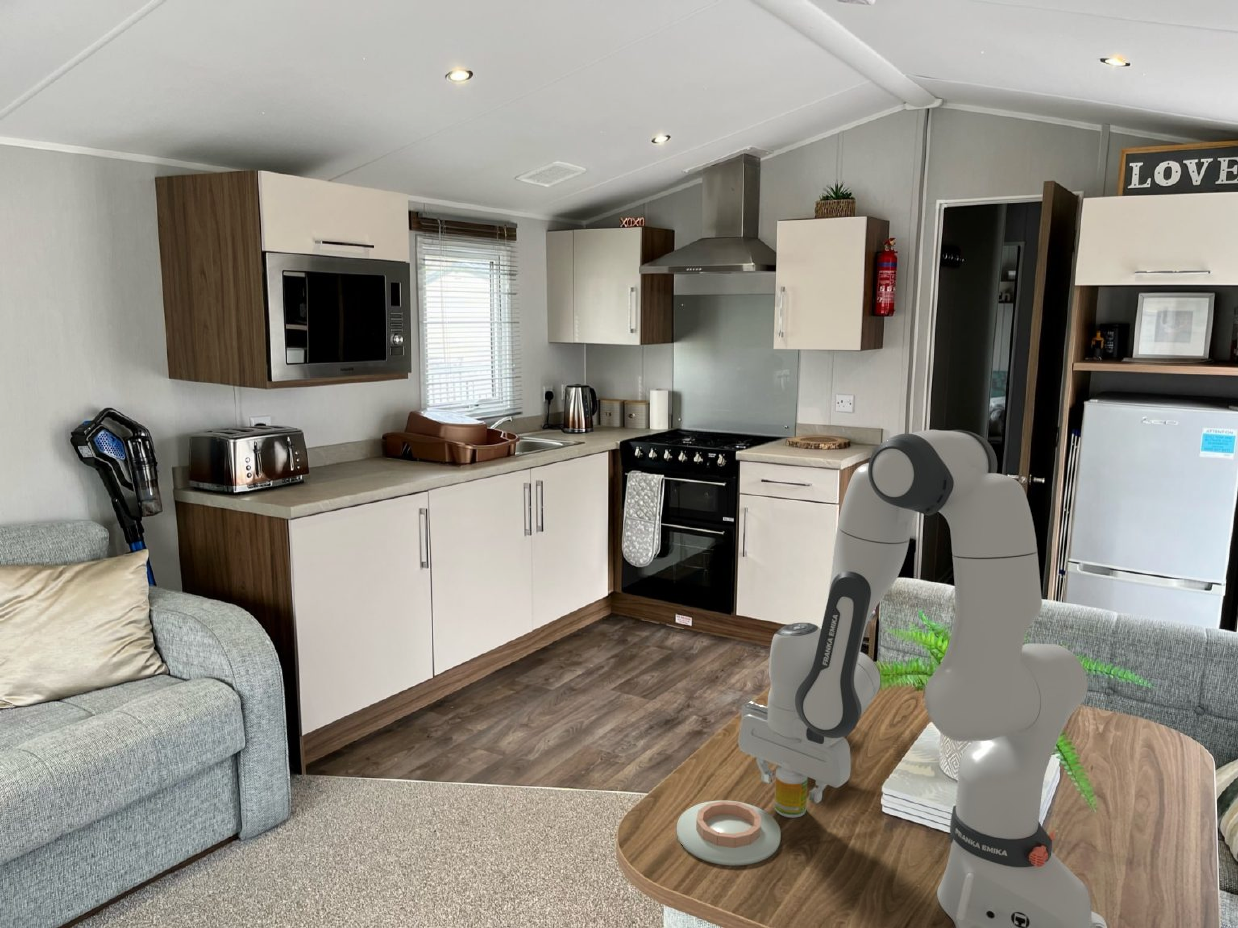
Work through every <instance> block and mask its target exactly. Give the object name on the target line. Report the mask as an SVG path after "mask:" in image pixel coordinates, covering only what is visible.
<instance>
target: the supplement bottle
mask: <svg viewBox="0 0 1238 928" xmlns="http://www.w3.org/2000/svg"><path fill="white" fill-rule="evenodd" d="M781 766H782V767H781ZM781 766H778V767H776V770H775V777H774V779H775V781H774V782H775V783H774V784H775V785H774V810H775V812H776V813H777V814H779V815H780V816H782V817H785V818H792V819H793V818H800V817H802V816H804V815H805V814H806V812H807V799H808V798H807V794H808V777H807V776H804V775H802V774H799V773H796V772H794V771H792V769H791V764H790V763H787V762H785V761H782V765H781Z"/></svg>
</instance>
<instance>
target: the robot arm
mask: <svg viewBox="0 0 1238 928" xmlns="http://www.w3.org/2000/svg"><path fill="white" fill-rule="evenodd" d="M996 455H997V454H996V453H995V450H994V449H993V446H992V445H991V444H990V442H989V441H987V440H986V439H985V438H984V437H982V436H981V435H980V434H979V435H978V434H977V433H974V432H972V431H967V430H964V429H953V430H940V429H939V430H938V429H925V430H919V431H915V432H911V433H908V432H907V433H900V434H896V435H893V436H891V437H890V438H888V439H886V440H884V441H883V442H881V443H880V444H879V445H878V446H876V448H875V449H874V451H873V452H872V454H871V455H870V458H869V461H868V462H866V463H863V464H861V465H860V466H858V467H857V468H856V469H855V470H854V472H853V474H852V475H851V477H850V481H849V482H848V485H847V489H846V491H845V494H844V497H843V500H842V504H841V508H840V512H839V516H838V521H837V526H836V532H835V533H836V535H835V540H834V541H835V542H834V549H833V556H832V559H833V560H832V567H831V575H830V581H829V583H830V584H829V588H828V597H827V602H826V606H825V611H824V614H823V620H822V623H821V627H820V626H818V625H816V624H814V623H810V622H794V623H790V624H787V625H784V626H782V627H781V628H780V629H778V630H777V631H776V632H775V633H774V635H773V637H772V640H771V644H770V653H769V661H768V677H769V681H770V688H769V692H768V695H767V705H763V704H759V703H757V702H755V701H749V702H745V703H743V705H742V706H741V709H740V710H741V711H740V713H741V714H740V716H741V723H740V727H739V734H738V740H737V741H738V742H737V743H738V747H739V749H740V751H741V752H742V753H744V754H747V755H750V756H752V757H755V760H756V761H755V762H756V765H757V767H758V769H759V771H760V773H761V779H760V781H762V782H763V783H766V784H769V785H770V784H771V783H773V782H774V779H775V777H774V776H775V771H773V770H771V768H770V766H769V763H771V764H773V765H776V766H778V767H779V766H781V765H782V761H785V762H787V763H790V764H791V769H792V771H794V772H796V773H799V774H802V775H804V776H807V778H810V779H812V780H815V785H816V786H817V787H813V788H812V789H811V790H809V793H808V794H809V797H808V799H809V801H811V802H814V803H815V804H818V803H820V802H821V801H822V799H823V791H824V789H826V788H827V786H831V787H833V788H840V787H841V786H843V785H844V784H845V783H846V782H848V780H849V779H850V777H851V766H852V765H851V762H852V759H851V749H850V748H851V747H850V745H849V742H848V740H847V739H846V738H845V737H847V736H849V735H850V734H851V733H852V732H853V731H854V730H855V729H856V727H857V724H858V723H859V722H860V720H861V717H862V716H863V714H864V713H865V711H866V710H867V709H868V708H869V706H870V705H871V703H872V702H873V700H874V698H875V697H876V696H877V695H878V693H879V691H880V689H881V686H882V675H881V672H880V669H879V667H878V666H877V663H876V662H875V661H874V660H873V659H872V658H871V657H870V656H869V655H868V654H866V653H865V652H863V651H861V650H862V644H863V642H864V635H865V632H866V628H867V625H868V623H869V620H870V618H871V616H872V614H873V613H874V611H875V610H876V608H877V606H878V605H879V603H880V602H881V601H882V600H883V598H884V597H885V595H886V594H887V593H888V591H889V590H890V589H891V587H893V585H894V584H895V582H896V581H897V579H898V577H899V574H900V572H901V569H902V567H903V565H904V562H905V559H906V556H907V552H908V549H909V544H910V538H911V531H912V526H913V521H914V519H915V514H916V513H920V514H922V515H925V516H932V515H934V514H935V515H936V513H938V512H939V513H940V514H941V515H942V516H943V517H944V518H945V519H946V522H947V524H948V526H949V529H950V530H949V531H950V539H951V540H950V541H951V553H952V564H953V579H954V580H953V581H954V596H955V610H954V621H953V624H952V628H951V629H952V630H951V634H950V638H949V641H948V645H947V648H946V651H945V654H944V655H943V658H942V659H941V662H940V664H939V666H938V667H937V669H936V670H935V671H934V673H933V674H932V675H931V676H930V677H929V679H928V680H927V682H926V685H925V690H924V705H925V709H926V711H927V712H926V713H927V714H928V717H929V719H930V720H931V721H930V722H931V723H932V724H933V726H935V728H936V729H937V730H938V732H940V733H941V734H942V735H943V736H945V738H948V739H950V740H953V741H954V742H971V743H970V744H969V745H968V746H967V747H966V749H965V750H964V751H963V753H962V755H961V757H960V759H959V763H958V770H957V771H958V772H957V785H956V786H957V787H956V799H955V805H953V806H952V811H951V815H950V823H949V834H950V835H949V841H950V843H951V845H950V850H949V856H948V861H947V864H946V868H945V871H944V873H943V877H942V879H941V882H940V884H939V885H938V888H937V892H936V893H937V894H936V895H937V900H938V902H939V904H940V906H941V908H942V909H943V911H944V912H945V914H947V915H948V916H949V917H950V919H951V920H952V921H953V923H954V926H955V928H1108V926H1107V925H1108V924H1107V923H1106V921H1105V919H1104V917H1103V916H1101V914H1099V913H1097V912H1094V911H1093V910H1092V902H1091V898H1090V894H1089V891H1088V888H1087V886H1086V884H1084V882H1083V881H1082V880H1081V879H1080V878H1078V877H1077V876H1076V874H1074V873H1073V872H1072V871H1071V870H1070V869H1069V868H1068V867H1067V866H1066V865H1065V864H1064V863H1063V862H1062V861H1061V860H1060V859H1059V858H1058V857H1057V856H1056V855H1055V854H1054V853H1053V852H1052V851H1053V842H1054V839H1055V834H1056V833H1055V829H1052V830H1051V832H1050V833H1049V834H1048V833H1047V832H1046V830H1045V828H1044V827H1043V826H1042V825H1041V822H1040V814H1041V813H1040V811H1041V803H1042V795H1043V787H1044V781H1045V777H1046V776H1045V775H1046V772H1047V769H1048V766H1049V763H1050V761H1051V758H1052V756H1053V752H1054V750H1055V748H1056V747H1057V743H1058V741H1059V739H1060V737H1061V734H1062V732H1063V730H1064V729H1065V726H1066V724H1067V723H1068V721H1069V719H1070V718H1071V716H1072V715H1073V713H1074V712H1075V711H1076V710H1077V708H1078V707H1079V706H1080V705H1081V704H1082V703H1083V702H1084V701H1085V699H1086V697H1087V693H1088V689H1089V688H1088V687H1089V684H1088V683H1089V682H1088V681H1089V680H1088V677H1087V673H1086V670H1085V667H1084V666H1083V664H1082V662H1081V660H1080V659H1079V658H1078V657H1077V655H1075V654H1074V653H1073V652H1072V651H1071V650H1070V649H1068V648H1066V647H1065V646H1061V645H1059V644H1054V643H1051V644H1050V643H1025V644H1024V642H1025V640H1026V636H1027V634H1028V631H1029V629H1030V627H1031V625H1032V624H1033V623H1034V622H1035V620H1036V619H1037V617H1038V615H1039V614H1040V613H1041V609H1042V605H1043V603H1042V602H1043V598H1042V590H1041V589H1042V588H1041V578H1040V577H1041V576H1040V566H1039V565H1040V564H1039V555H1038V547H1037V546H1038V545H1037V537H1036V532H1035V531H1036V530H1035V525H1034V520H1033V516H1032V512H1031V507H1030V505H1029V501H1028V498H1027V494H1026V492H1025V489H1024V487H1023V485H1022V484H1021V483H1020V482H1019V481H1018V480H1016V479H1015V478H1013V477H1011V476H1009V475H1006V474H1002V473H997V471H998V460H997V456H996ZM781 767H782V766H781Z"/></svg>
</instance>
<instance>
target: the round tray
mask: <svg viewBox="0 0 1238 928" xmlns="http://www.w3.org/2000/svg"><path fill="white" fill-rule="evenodd" d="M781 835H782V834H781V828H780V825H779V823H778V821H776V818H774V817H773V816H772V815H771V814H769V812H766V810H763V809H762V808H760V807H757V806H755V805H753V804H749V803H746V802H743V801H734V800H710V801H705V802H701V803H698V804H695V805H694V806H691V807H689V808H688V809H686V810H685V811H684V812H682V814H681V815H680V816H679V818H678V821H677V823H676V836H678V837H677V839H678V841H679V843H680V845H681V844H682V845H683V846H682V845H681V846H682V847H683V848H684V849H685V850H686V851H687V852H688V853H690V854H691V855H692V856H694V857H696V858H698V859H701V860H703V861H706V862H708V863H711V864H716V865H722V866H732V867H733V866H747V865H753V864H756V863H760V862H761V861H765V860H767V859H768V858H770V857H771V856H772V855H774V854H775V853H776V852H777V850H778V849H779V847H780V845H781V838H782V837H781Z"/></svg>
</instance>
